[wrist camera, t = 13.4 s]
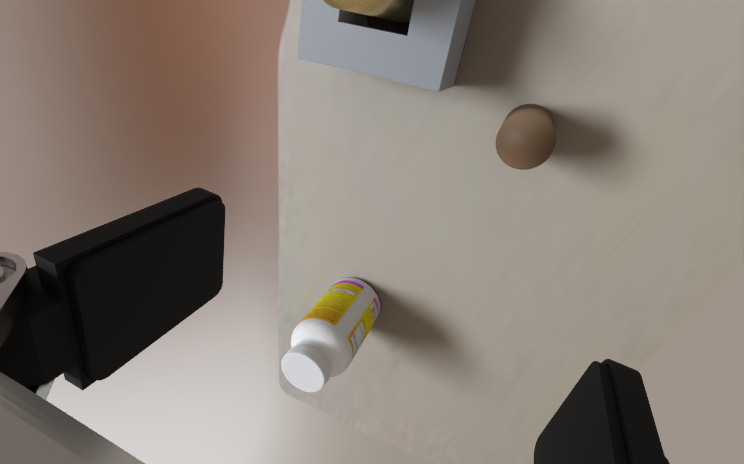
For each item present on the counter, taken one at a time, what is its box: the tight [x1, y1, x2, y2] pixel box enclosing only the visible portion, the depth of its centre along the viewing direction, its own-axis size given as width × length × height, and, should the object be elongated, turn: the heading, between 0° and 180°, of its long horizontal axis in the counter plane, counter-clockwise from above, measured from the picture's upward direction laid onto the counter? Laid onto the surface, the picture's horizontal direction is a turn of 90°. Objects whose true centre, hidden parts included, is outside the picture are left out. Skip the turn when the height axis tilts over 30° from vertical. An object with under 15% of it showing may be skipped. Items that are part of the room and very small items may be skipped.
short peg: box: [496, 104, 555, 170], centre depth 31 cm, size 4×4×6 cm
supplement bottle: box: [282, 278, 380, 392], centre depth 42 cm, size 7×7×13 cm
